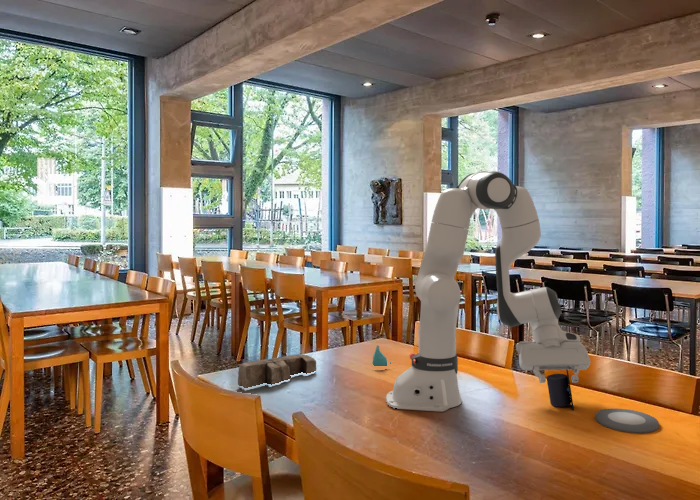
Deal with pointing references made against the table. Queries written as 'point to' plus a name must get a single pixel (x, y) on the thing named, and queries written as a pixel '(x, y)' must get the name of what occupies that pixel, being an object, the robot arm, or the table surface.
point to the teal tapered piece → (379, 358)
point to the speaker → (559, 390)
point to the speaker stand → (627, 420)
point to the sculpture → (274, 370)
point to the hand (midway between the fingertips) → (559, 381)
